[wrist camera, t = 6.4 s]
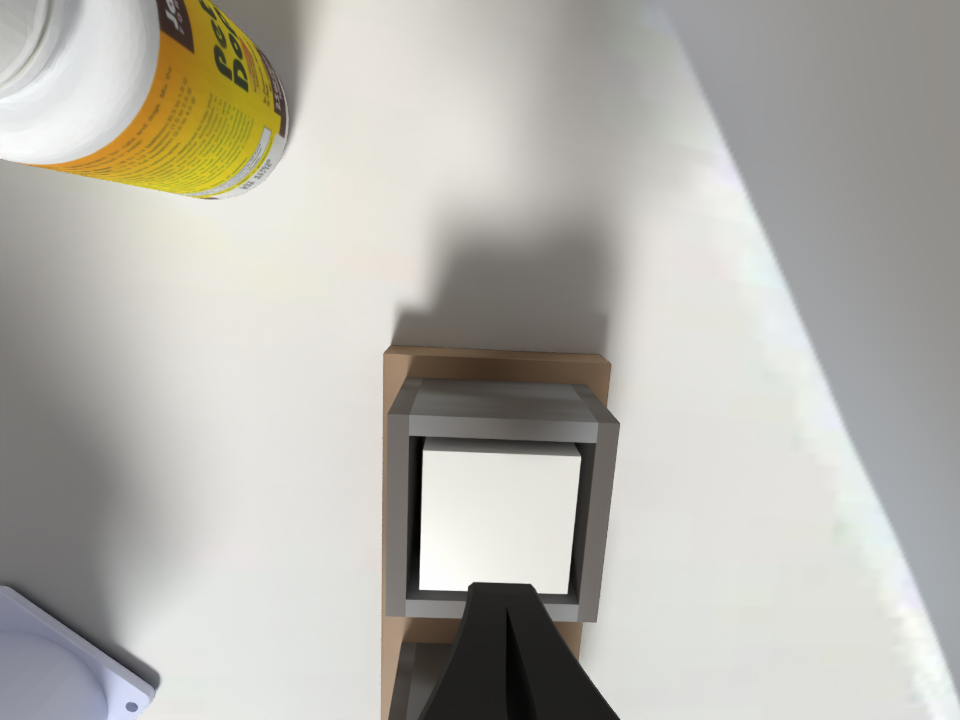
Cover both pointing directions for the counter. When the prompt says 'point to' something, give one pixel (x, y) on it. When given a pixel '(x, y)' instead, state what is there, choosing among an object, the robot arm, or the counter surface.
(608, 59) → the counter surface
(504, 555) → the white key
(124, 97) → the supplement bottle
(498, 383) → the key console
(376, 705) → the counter surface
